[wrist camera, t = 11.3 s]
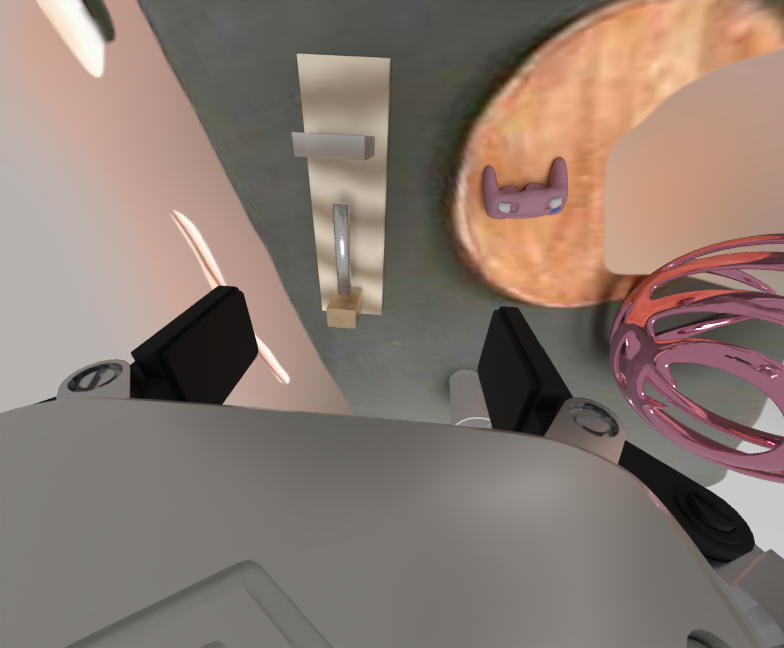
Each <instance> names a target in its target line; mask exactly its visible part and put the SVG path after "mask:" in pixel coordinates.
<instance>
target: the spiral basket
mask: <svg viewBox="0 0 784 648" xmlns="http://www.w3.org/2000/svg"><path fill="white" fill-rule="evenodd" d="M760 244H761V245H762V244H784V233H783V234H781V233H780V234H768V235H767V234H766V235H757V236H750V237H744V238H738V239H733V240H728V241H724V242H720V243H716V244H713V245H710V246H706V247H703V248H700V249H698V250H695V251H692V252H690V253H688V254H685V255H683V256H681V257H679V258H677V259H675V260H673V261H671V262H669V263H667V264H665V265H664V266H662V267H660V268H659V269H657V270H656V271H654V272H653V273H652V274H650V275H649V276H648V277H647V278H646V279H645V280H644V281H643V282H642V283H641V284H640V285H639V286H638V287H637V288H636V289H635V290H634V291H633V292H632V293H631V294H630V295H629V296H628V297H627V298H626V299H625V301H624V302H623V303H622V305H621V306H620V308H619V309H618V311H617V313H616V315H615V317H614V320H613V322H612V326H611V330H610V352H609V360H610V367H611V371H612V375H613V378H614V380H615V383H616V385H617V387H618V389H619V390H620V392H621V394H622V395H623V397H624V398H625V400H626V401H627V402H628V404H629V405H630V406H631V407H632V408H633V410H634V411H635V412H636V413H637V414H638V415H639V416H640V417H641V418H642V419H643V420H644V421H645V422H647V423H648V424H649V425H650V426H651V427H652V428H654V429H655V430H656V431H657V432H659V433H660V434H661V435H663V436H664V437H666V438H667V439H669V440H670V441H672V442H673V443H675V444H676V445H678V446H680V447H682V448H683V449H685V450H687V451H689V452H691V453H692V454H694V455H696V456H698V457H700V458H703V459H705V460H707V461H709V462H712V463H714V464H716V465H719V466H721V467H724V468H727V469H729V470H733V471H735V472H738V473H741V474H745V475H748V476H751V477H755V478H759V479H763V480H768V481H772V482H777V483H782V484H784V437H783V436H778V435H774V434H770V433H767V432H763V431H760V430H756V429H753V428H750V427H747V426H744V425H741V424H739V423H736V422H733V421H731V420H728V419H726V418H724V417H721V416H719V415H717V414H715V413H713V412H711V411H709V410H707V409H705V408H703V407H701V406H700V405H698V404H696V403H694V402H693V401H691V400H690V399H688V398H687V397H685V396H684V395H682V394H681V393H679V392H678V391H677V390H675V389H674V388H677V383H676V380H675V378H674V376H673V374H672V372H671V370H670V364H672V363H697V364H703V365H708V366H712V367H715V368H719V369H722V370H724V371H727V372H730V373H732V374H734V375H736V376H739V377H741V378H743V379H744V380H746V381H748V382H750V383H751V384H753V385H754V386H756V387H757V388H759V389H760V390H761V391H763V392H764V393H765V394H766V395H767V396H768V397H769V398H770V399H772V401H773V402H775V404H776V405H777V406H778V408H779V409H780V411H781V412H782V414H783V416H784V365H782V364H781V363H779V362H777V361H775V360H773V359H771V358H769V357H767V356H764V355H762V354H760V353H757V352H755V351H752V350H749V349H747V348H744V347H740V346H737V345H733V344H730V343H725V342H721V341H715V340H709V339H699V338H687V337H690V336H692V335H695V334H698V333H701V332H704V331H707V330H711V329H714V328H717V327H721V326H724V325H728V324H732V323H735V322H739V321H743V320H747V319H752V318H756V319H761V320H765V321H768V322H772V323H775V324H778V325H781V326H784V296H780V295H776V292H775V291H774V290H773V289H772V288H770V287H769V286H768V285H766V284H764V283H763V282H761V281H760V280H758V279H756V278H754V277H752V276H751V275H749V274H746V273H745V272H742V271H740V270H738V269H760V270H775V271H784V252H743V253H733V254H724V255H718V256H712V257H707V258H702V259H694V258H697V257H699V256H703V255H706V254H709V253H713V252H717V251H720V250H725V249H730V248H736V247H742V246H751V245H760ZM703 272H705V273H711V274H716V275H720V276H724V277H727V278H730V279H734V280H737V281H740V282H742V283H745V284H748V285H750V286H752V287H755V288H757V289H759V290H762V291H764V292H766V293H763V292H755V291H746V290H730V289H712V290H698V291H689V292H683V293H678V294H674V295H670V296H666V297H663V298H659V299H654V300H652V299H651V295H652V293H653V291H654V290H655V289H656V288H658V287H659V286H660V285H662V284H664V283H666V282H669V281H671V280H674V279H677V278H680V277H684V276H688V275H692V274H697V273H703ZM689 312H717V313H728V314H735V316H729V317H723V318H718V319H713V320H708V321H703V322H699V323H695V324H690V325H687V326H683V327H679V328H676V329H673V330H670V331H666V332H664V333H661V334H658V335H656V336H655V334H654V330H653V325H654V322H655V321H656V320H657V319H659V318H661V317H664V316H668V315H673V314H680V313H689ZM624 314H625V315H624ZM623 316H624V320H623V322H622V323H621V320H622V318H623ZM620 323H621V324H620ZM637 335H638V337H639V339H638V337H637ZM624 342H625V350H624V353H623V354H622V355H621V353H620V350H621V347H622V345H623V343H624ZM656 371H657V372H658V373H659V374H660V375H661V376H662V377H663V378H664V379H665V380H666V381H665V380H664V379H663V378H662V377H661V376H660V375H659V374H658V373H657V372H656ZM645 380H646V381H647V382H648V383H649V384H650V385H651V386H652V387H653V388H654V389H655V390H656V391H657V392H658V393H659V394H660V395H661V396H663V397H664V398H665V399H666V400H668V401H669V402H670V403H672V404H673V405H674V406H676V407H677V408H679V409H680V410H682V411H683V412H685V413H686V414H688V415H690V416H691V417H693V418H695V419H697V420H698V421H700V422H702V423H704V424H706V425H708V426H710V427H712V428H714V429H716V430H719V431H721V432H723V433H726V434H728V435H730V436H733V437H736V438H738V439H741V440H744V441H747V442H750V443H753V444H756V445H759V446H762V447H766V448H769V449H771V450H769V451H766V452H762V453H753V454H748V453H744V452H742V451H739V450H736V449H734V448H731V447H728V446H726V445H724V444H721V443H719V442H717V441H714V440H712V439H710V438H708V437H706V436H704V435H702V434H700V433H698V432H696V431H694V430H693V429H691V428H689V427H687V426H686V425H684V424H682V423H681V422H679V421H678V420H676V419H675V418H673V417H672V416H670V415H669V414H668V413H666V412H665V411H664V410H662V409H666V408H668V406H667V405H665V404H663V403H661V402H658V401H656V400H654V399H652V398H650V397H648V396H647V395H646V394H645V392H644V382H645ZM762 470H763V471H762ZM766 471H768V472H766Z"/></svg>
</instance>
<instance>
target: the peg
mask: <svg viewBox="0 0 784 648" xmlns="http://www.w3.org/2000/svg"><path fill="white" fill-rule="evenodd" d="M332 208H333V223H334V239H335V255H336V271H337V287H338V289H336V290H335V292H334V294H333V296H332V298H331V300H330V302H329V304H328V306H327V308H326V310H327V321H328V326H329V327H342V328H354V329H356V326H357V323H358V320H359V317H360V313H361V310H362V291H360V290H352V278H351V247H350V216H349V203H345V202H335V203H332Z"/></svg>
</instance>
